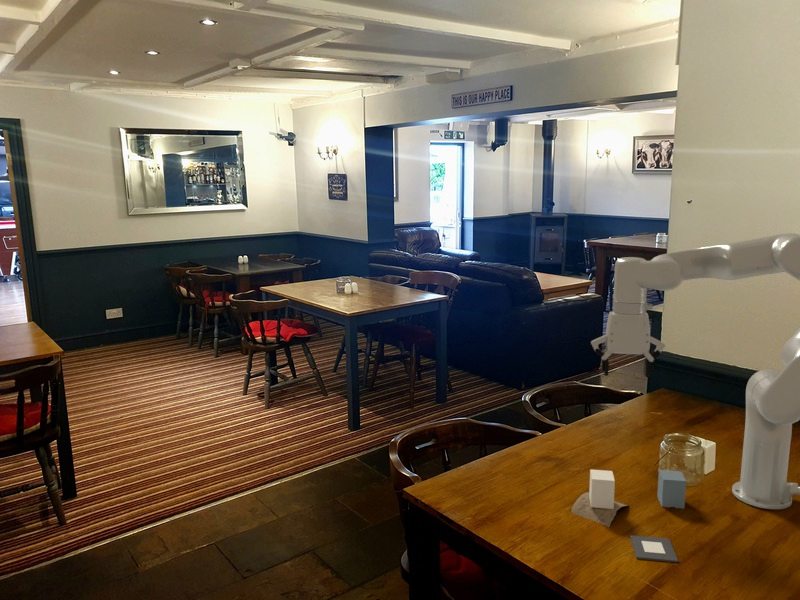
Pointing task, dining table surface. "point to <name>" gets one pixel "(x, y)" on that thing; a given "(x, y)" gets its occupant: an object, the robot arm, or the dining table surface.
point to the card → (653, 548)
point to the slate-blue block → (671, 489)
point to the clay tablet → (594, 510)
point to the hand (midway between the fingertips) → (625, 374)
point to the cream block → (601, 489)
